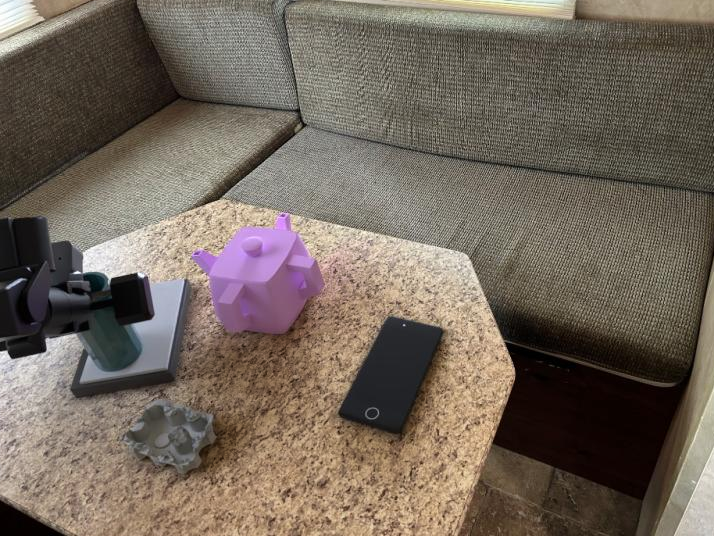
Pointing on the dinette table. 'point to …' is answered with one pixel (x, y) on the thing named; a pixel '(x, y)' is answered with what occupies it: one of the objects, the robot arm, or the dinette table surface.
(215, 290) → the teakettle
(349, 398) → the cell phone
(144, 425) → the egg carton
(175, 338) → the scale
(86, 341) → the tumbler
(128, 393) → the dinette table surface
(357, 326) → the dinette table surface
